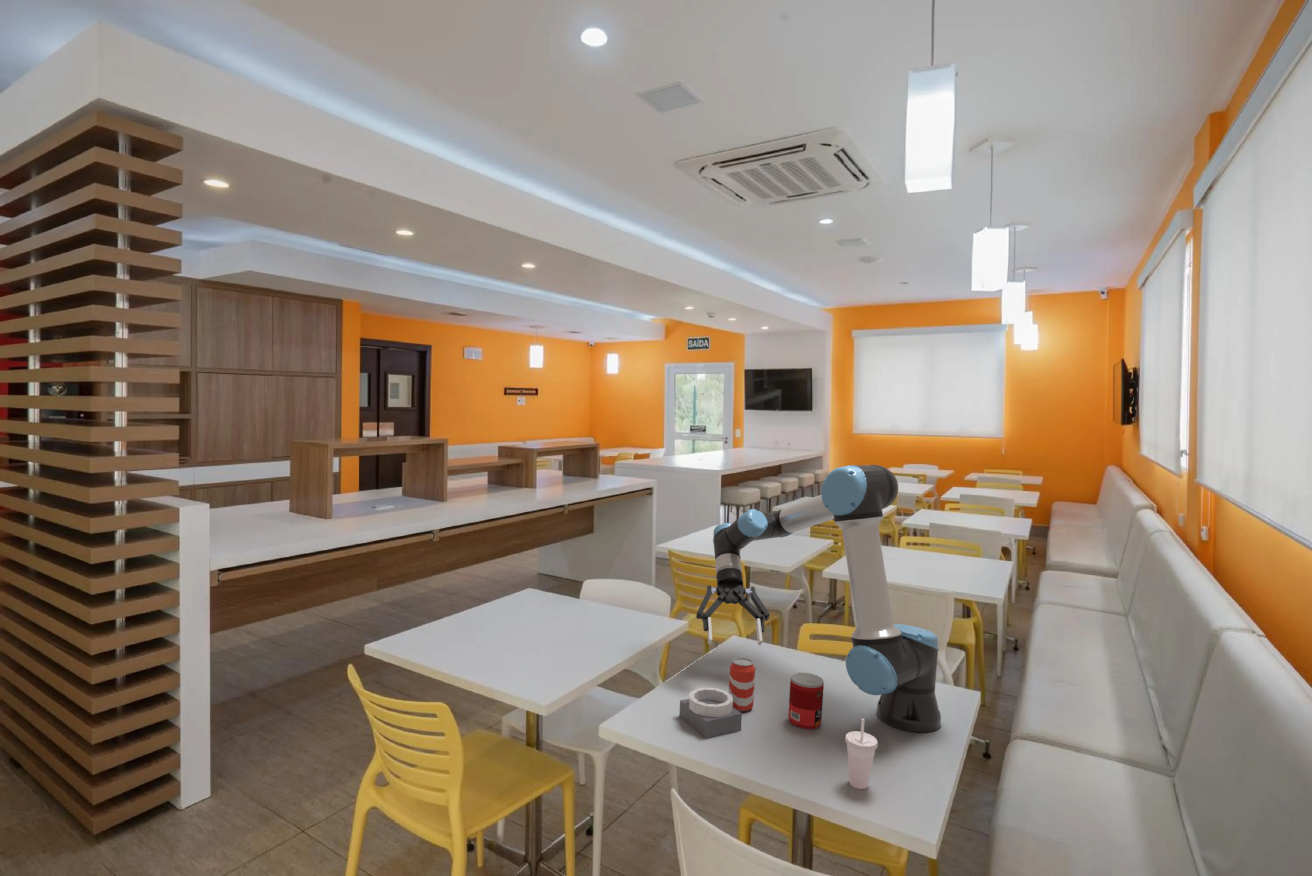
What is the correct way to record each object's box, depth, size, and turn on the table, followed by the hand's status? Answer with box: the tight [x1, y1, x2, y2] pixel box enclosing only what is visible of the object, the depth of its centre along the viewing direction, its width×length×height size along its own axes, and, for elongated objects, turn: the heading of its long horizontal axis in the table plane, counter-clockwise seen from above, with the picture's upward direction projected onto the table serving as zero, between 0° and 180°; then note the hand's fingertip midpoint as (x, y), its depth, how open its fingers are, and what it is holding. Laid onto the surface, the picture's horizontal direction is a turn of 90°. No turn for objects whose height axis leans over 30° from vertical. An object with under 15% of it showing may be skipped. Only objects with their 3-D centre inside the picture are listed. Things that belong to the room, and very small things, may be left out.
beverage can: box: [728, 657, 756, 712], centre depth 173 cm, size 6×6×12 cm
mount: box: [678, 687, 743, 739], centre depth 164 cm, size 12×10×6 cm
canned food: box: [788, 672, 825, 730], centre depth 166 cm, size 8×8×11 cm
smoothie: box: [844, 718, 878, 790], centre depth 140 cm, size 6×6×14 cm
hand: (735, 642), depth 182 cm, fingers open, 13 cm apart
